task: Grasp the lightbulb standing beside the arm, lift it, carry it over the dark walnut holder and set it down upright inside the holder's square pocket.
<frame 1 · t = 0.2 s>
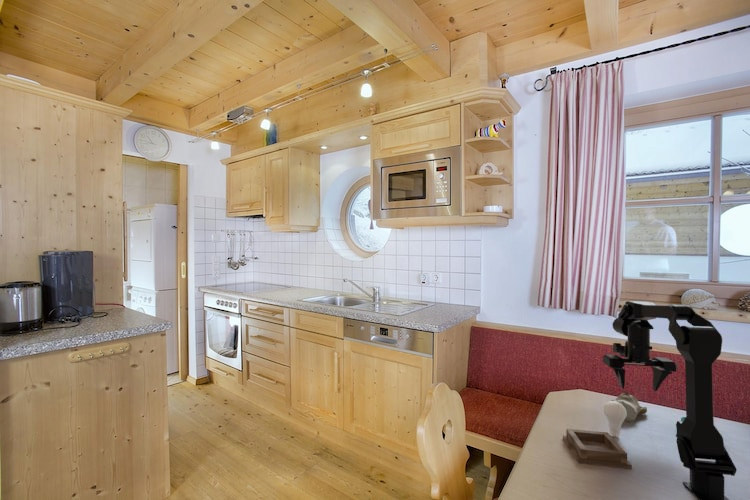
hand: (638, 389, 112), 14 cm above the table, fingers open, 9 cm apart
digital multimeter: (697, 436, 113), on the table
ceramic sculpture: (626, 416, 125), on the table
lightbulb: (614, 437, 111), on the table
bulb holder: (594, 452, 102), on the table
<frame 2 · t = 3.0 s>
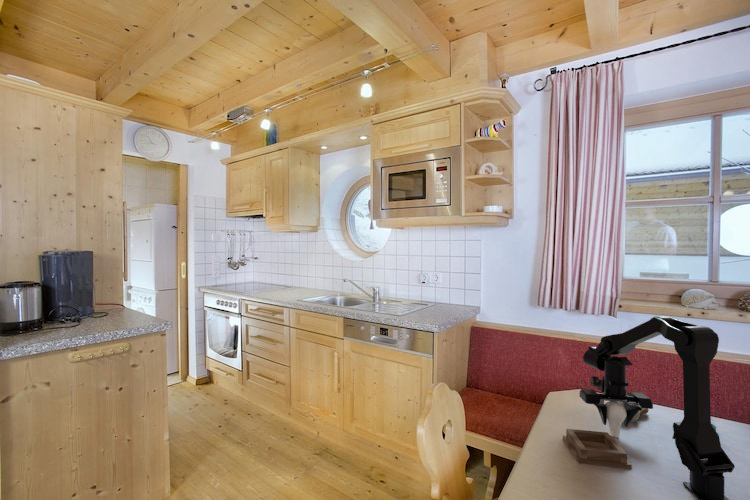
hand: (614, 425, 111), 4 cm above the table, fingers closed on lightbulb, 5 cm apart
lightbulb: (614, 437, 111), on the table, touching gripper
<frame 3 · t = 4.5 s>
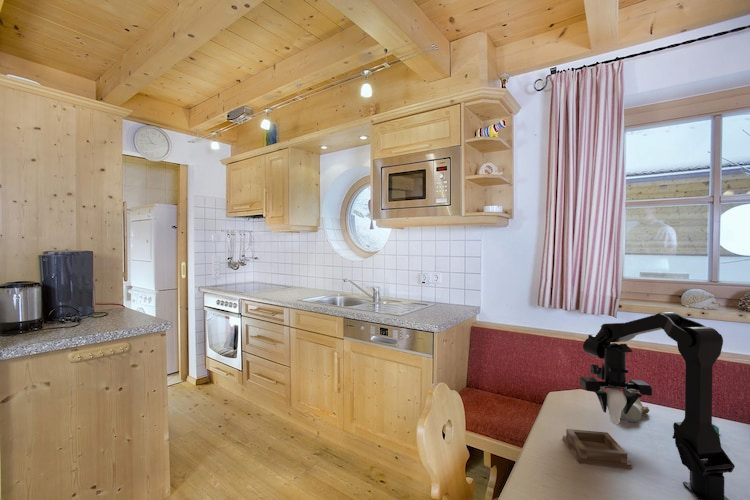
hand: (614, 412, 111), 7 cm above the table, fingers closed on lightbulb, 5 cm apart
lightbulb: (614, 424, 111), point 4 cm above the table, touching gripper
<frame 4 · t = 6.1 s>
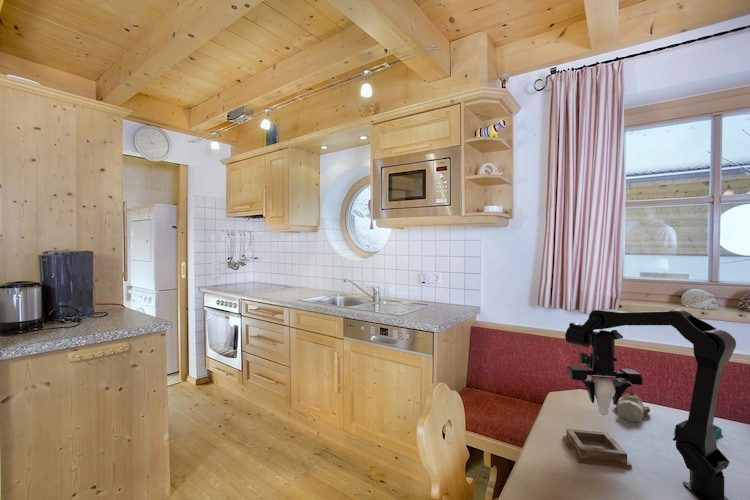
hand: (603, 403, 105), 13 cm above the table, fingers closed on lightbulb, 5 cm apart
lightbulb: (603, 415, 105), point 9 cm above the table, touching gripper
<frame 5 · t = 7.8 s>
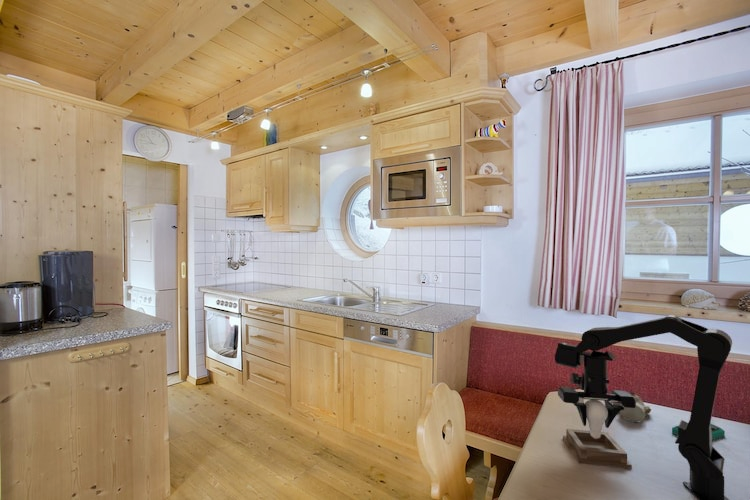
hand: (595, 426, 102), 8 cm above the table, fingers closed on lightbulb, 5 cm apart
lightbulb: (595, 439, 102), point 4 cm above the table, touching gripper
when the fingers open (5 cm above the table, at t = 9.2 s): lightbulb stays where it is, resting on bulb holder.
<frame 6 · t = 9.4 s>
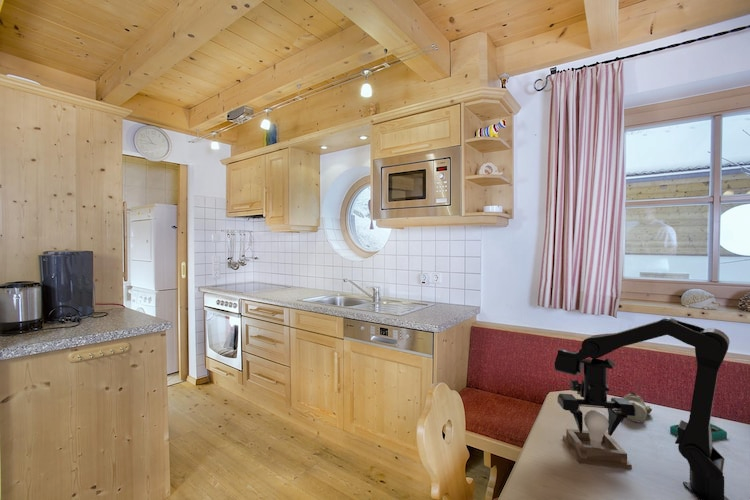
hand: (595, 433, 102), 5 cm above the table, fingers open, 7 cm apart
lightbulb: (595, 449, 102), point 1 cm above the table, touching bulb holder
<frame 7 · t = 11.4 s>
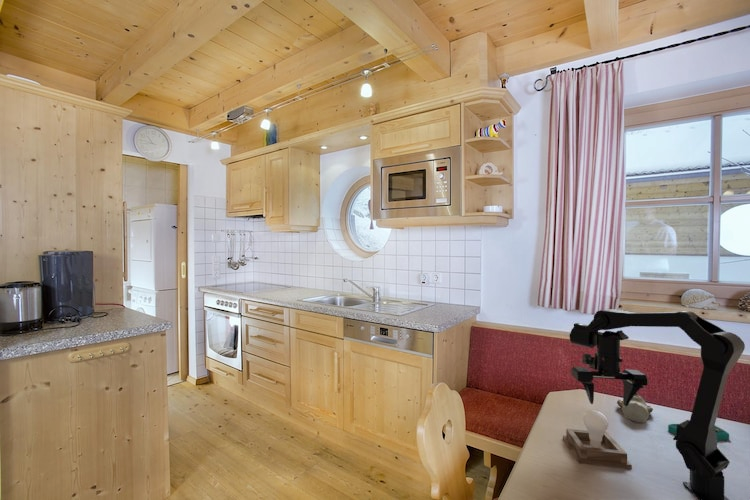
hand: (608, 404, 104), 13 cm above the table, fingers open, 9 cm apart
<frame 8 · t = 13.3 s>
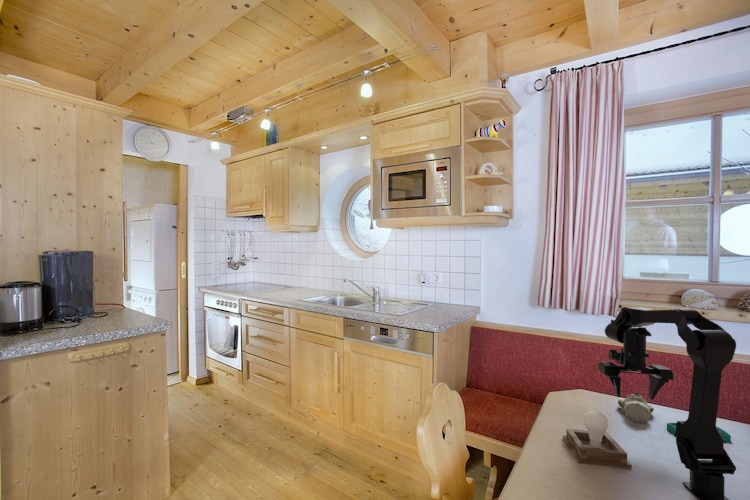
hand: (634, 398, 109), 13 cm above the table, fingers open, 9 cm apart
at the end: lightbulb 0.2 cm off-centre on the bulb holder, point 0.8 cm above the bulb holder's base; lightbulb tilted 0°; the gripper is holding nothing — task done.
